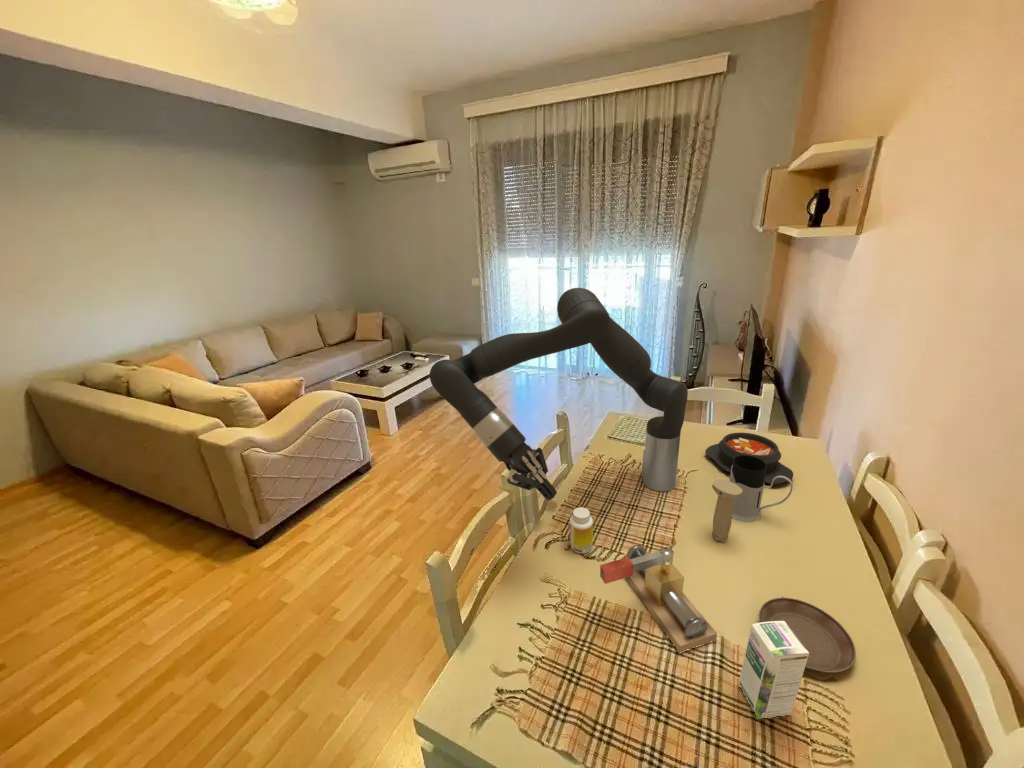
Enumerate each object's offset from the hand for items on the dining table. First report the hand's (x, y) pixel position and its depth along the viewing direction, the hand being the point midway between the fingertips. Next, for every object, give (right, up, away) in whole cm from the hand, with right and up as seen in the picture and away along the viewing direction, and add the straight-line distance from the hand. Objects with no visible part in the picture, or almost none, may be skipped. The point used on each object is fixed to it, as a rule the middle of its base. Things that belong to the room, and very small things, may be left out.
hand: (553, 496), depth 89 cm
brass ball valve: (+23, -20, -1) cm, 30 cm away
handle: (+43, -14, +15) cm, 48 cm away
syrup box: (+33, -28, -19) cm, 47 cm away
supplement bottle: (+9, -17, +15) cm, 24 cm away
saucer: (+46, -24, -10) cm, 53 cm away
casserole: (+65, -2, +43) cm, 78 cm away
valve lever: (+16, -13, -6) cm, 21 cm away
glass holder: (+55, -11, +22) cm, 60 cm away
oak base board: (+23, -22, 0) cm, 31 cm away
